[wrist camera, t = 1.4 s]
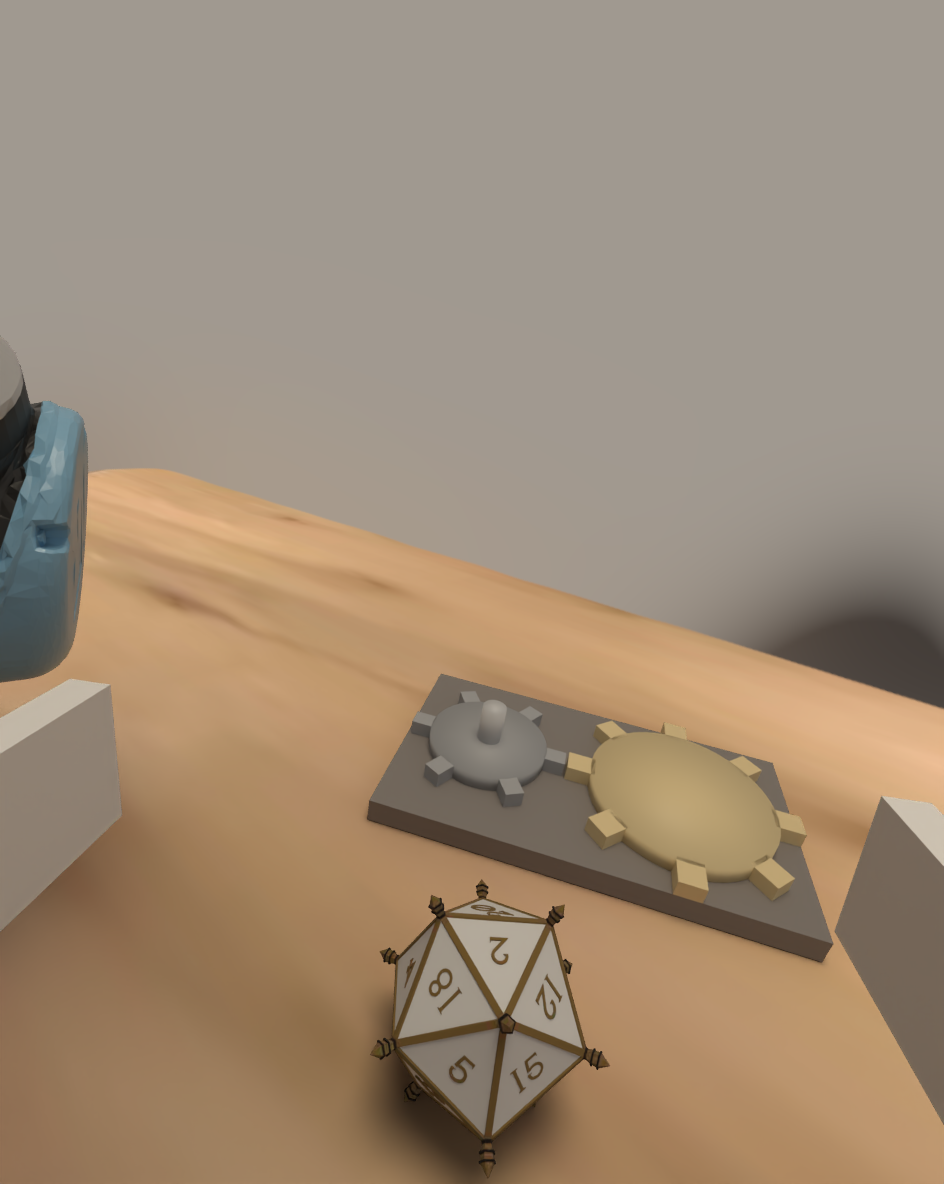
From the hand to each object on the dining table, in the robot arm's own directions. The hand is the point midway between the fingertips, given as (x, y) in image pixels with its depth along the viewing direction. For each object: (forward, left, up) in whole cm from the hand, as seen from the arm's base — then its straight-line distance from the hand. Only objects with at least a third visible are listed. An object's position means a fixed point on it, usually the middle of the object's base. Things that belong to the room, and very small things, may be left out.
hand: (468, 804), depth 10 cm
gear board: (+5, +25, -21) cm, 33 cm away
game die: (+1, +7, -21) cm, 22 cm away
